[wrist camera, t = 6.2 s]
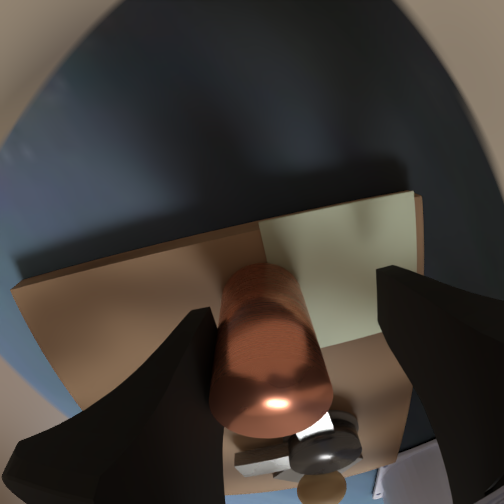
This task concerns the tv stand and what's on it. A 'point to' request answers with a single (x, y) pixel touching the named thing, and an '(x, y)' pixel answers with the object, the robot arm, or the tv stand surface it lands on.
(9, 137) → the tv stand surface
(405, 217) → the light wood flat board
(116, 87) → the tv stand surface
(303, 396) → the lever
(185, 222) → the tv stand surface
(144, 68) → the tv stand surface
